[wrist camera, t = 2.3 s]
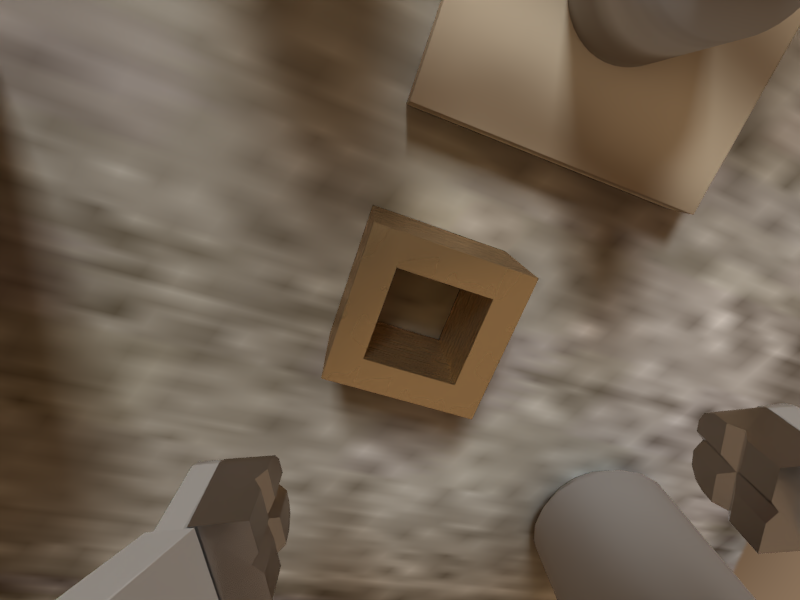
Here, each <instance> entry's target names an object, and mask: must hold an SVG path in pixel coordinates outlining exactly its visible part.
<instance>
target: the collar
mask: <svg viewBox="0 0 800 600" xmlns="http://www.w3.org/2000/svg"><path fill="white" fill-rule="evenodd" d="M396 268H399V269H403V270H406V271H409V272H412V273H415V274H418V275H421V276H424V277H427V278H430V279H433V280H436V281H439V282H442V283H445V284H448V285H451V286H454V287H457V288H460V291H459V293H458V295H457V298H456V300H455V303H454V305H453V307H452V310H451V312H450V314H449V317H448V319H447V322H446V324H445V326H444V329H443V331H442V334H441V336H440V338H439V340H437V339H434V338H431V337H427V336H424V335H421V334H418V333H414V332H411V331H408V330H404V329H401V328H398V327H394V326H391V325H388V324H385V323H381V322H378V321H377V320H378V317H379V314H380V312H381V309H382V306H383V303H384V301H385V298H386V295H387V293H388V290H389V287H390V284H391V282H392V279H393V276H394V273H395V271H396ZM537 281H538V278H537V277H536V276H535V275H533V274H532V273H531V272H530V271H528V270H527V269H526V268H525V267H524V266H522V265H521V264H520V263H519V262H517V261H516V260H515V259H514V258H513V257H511V256H510V255H509V254H508V253H506V252H505V251H503V250H500V249H497V248H494V247H491V246H488V245H486V244H483V243H480V242H477V241H474V240H471V239H468V238H466V237H463V236H460V235H457V234H454V233H451V232H449V231H446V230H443V229H440V228H437V227H434V226H431V225H429V224H426V223H423V222H420V221H417V220H414V219H412V218H409V217H406V216H403V215H400V214H397V213H395V212H392V211H389V210H386V209H383V208H380V207H377V206H375V205H373V206H372V209H371V212H370V215H369V218H368V221H367V224H366V227H365V230H364V233H363V236H362V239H361V242H360V245H359V248H358V251H357V254H356V257H355V260H354V263H353V266H352V269H351V272H350V275H349V278H348V281H347V284H346V287H345V290H344V293H343V296H342V299H341V302H340V305H339V308H338V311H337V314H336V317H335V320H334V323H333V326H332V329H331V332H330V336H329V341H328V346H327V351H326V356H325V362H324V367H323V372H322V377H321V378H322V379H326V380H329V381H333V382H337V383H340V384H344V385H348V386H351V387H355V388H359V389H362V390H366V391H370V392H373V393H377V394H381V395H384V396H388V397H392V398H395V399H399V400H403V401H406V402H410V403H414V404H417V405H421V406H425V407H428V408H432V409H436V410H439V411H443V412H447V413H450V414H454V415H457V416H461V417H465V418H468V419H472V418H473V416H474V414H475V411H476V409H477V407H478V405H479V403H480V401H481V399H482V397H483V395H484V392H485V390H486V388H487V386H488V384H489V382H490V380H491V378H492V376H493V374H494V371H495V369H496V367H497V365H498V363H499V361H500V359H501V357H502V355H503V352H504V350H505V348H506V346H507V344H508V342H509V340H510V338H511V336H512V334H513V331H514V329H515V327H516V325H517V323H518V321H519V319H520V317H521V315H522V313H523V310H524V308H525V306H526V304H527V302H528V300H529V298H530V296H531V294H532V291H533V289H534V287H535V285H536V283H537Z"/></svg>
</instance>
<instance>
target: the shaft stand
mask: <svg viewBox="0 0 800 600" xmlns="http://www.w3.org/2000/svg"><path fill="white" fill-rule="evenodd" d="M799 26H800V0H441V2H440V5H439V8H438V11H437V14H436V17H435V20H434V23H433V26H432V29H431V32H430V35H429V38H428V41H427V44H426V47H425V50H424V53H423V56H422V59H421V62H420V65H419V68H418V71H417V74H416V77H415V80H414V83H413V86H412V89H411V92H410V95H409V98H408V101H407V105H410V106H412V107H415V108H417V109H420V110H422V111H425V112H427V113H430V114H432V115H435V116H437V117H440V118H442V119H445V120H447V121H450V122H452V123H455V124H457V125H460V126H462V127H465V128H467V129H470V130H472V131H475V132H477V133H480V134H482V135H485V136H487V137H490V138H492V139H495V140H497V141H500V142H502V143H505V144H507V145H510V146H512V147H515V148H517V149H520V150H522V151H525V152H527V153H530V154H532V155H535V156H537V157H540V158H542V159H545V160H547V161H550V162H552V163H555V164H557V165H560V166H562V167H565V168H567V169H570V170H572V171H575V172H577V173H580V174H582V175H585V176H587V177H590V178H592V179H595V180H597V181H600V182H602V183H605V184H607V185H610V186H613V187H615V188H618V189H620V190H623V191H625V192H628V193H630V194H633V195H635V196H638V197H640V198H643V199H645V200H648V201H650V202H653V203H655V204H658V205H660V206H663V207H665V208H668V209H671V210H675V211H680V212H684V213H688V214H692V215H693V214H694V213H695V211H696V209H697V207H698V205H699V204H700V202H701V200H702V198H703V197H704V195H705V193H706V191H707V189H708V188H709V186H710V184H711V182H712V181H713V179H714V177H715V175H716V173H717V172H718V170H719V168H720V166H721V165H722V163H723V161H724V159H725V158H726V156H727V154H728V152H729V150H730V149H731V147H732V145H733V143H734V142H735V140H736V138H737V136H738V134H739V133H740V131H741V129H742V127H743V126H744V124H745V122H746V120H747V118H748V117H749V115H750V113H751V111H752V110H753V108H754V106H755V104H756V102H757V101H758V99H759V97H760V95H761V94H762V92H763V90H764V88H765V86H766V85H767V83H768V81H769V79H770V78H771V76H772V74H773V72H774V71H775V69H776V67H777V65H778V63H779V62H780V60H781V58H782V56H783V55H784V53H785V51H786V49H787V47H788V46H789V44H790V42H791V40H792V39H793V37H794V35H795V33H796V31H797V30H798V28H799Z"/></svg>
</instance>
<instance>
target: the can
mask: <svg viewBox="0 0 800 600" xmlns="http://www.w3.org/2000/svg"><path fill="white" fill-rule="evenodd" d="M534 543H535V545H536V548H537V551H538V554H539V556H540V559H541V561H542V564H543V566H544V568H545V571H546V573H547V576H548V578H549V581H550V583H551V585H552V588H553V590H554V593H555V595H556V598H557V600H756V599H755V598H754V597H753V596H752V594H751V593H750V592H749V591H748V590H747V588H746V587H745V586H744V585H743V584H742V582H741V581H740V580H739V579H738V578H737V577H736V575H735V574H734V573H733V572H732V571H731V569H730V568H729V567H728V566H727V565H726V563H725V562H724V561H723V560H722V559H721V558H720V556H719V555H718V554H717V553H716V552H715V550H714V549H713V548H712V547H711V546H710V545H709V543H708V542H707V541H706V540H705V539H704V537H703V536H702V535H701V534H700V533H699V531H698V530H697V529H696V528H695V527H694V526H693V524H692V523H691V522H690V521H689V520H688V518H687V517H686V516H685V515H684V514H683V513H682V511H681V510H680V509H679V508H678V507H677V505H676V504H675V503H674V502H673V501H672V499H671V498H670V497H669V496H668V495H667V494H666V492H665V491H664V490H663V489H662V488H661V486H660V485H659V484H658V483H657V482H655V481H653V480H652V479H650V478H648V477H646V476H645V475H643V474H640V473H635V472H629V471H624V470H615V471H598V472H590V473H587V474H584V475H582V476H579V477H576V478H574V479H572V480H571V481H569V482H568V483H566V484H565V485H563V486H561V487H560V488H559V489H558V490H557V491H556V492H555V494H554V495H553V496H552V497H551V498H550V499H549V501H548V503H547V504H546V505H545V506H544V507H543V509H542V511H541V513H540V515H539V518H538V520H537V522H536V524H535V534H534Z"/></svg>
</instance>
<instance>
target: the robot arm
mask: <svg viewBox="0 0 800 600" xmlns="http://www.w3.org/2000/svg"><path fill="white" fill-rule="evenodd" d="M697 432H698V433H699V435H700V436H701V437H702V439H703V440H702V442H701V443H700V444H699V445H698V446H697V447H696V448H695V449H694V451H693V459H692V467H693V471H694V475H695V479H696V481H697V483H698V485H699V486H700V488H701V490H702V491H703V492H704V494H705V495H706V496H707V497H708V498H709V499H710V501H711V502H713V503H715V504H717V505H719V506H721V507H723V508H725V509H727V510H729V522H730V523H731V524H732V525H733V526H734V527H735V529H736V530H737V531H738V532H739V533H740V534H741V535H742V536H743V537H744V538H745V540H746V541H747V542H748V543H749V544H750V545H751V546H752V547H753V548H754V549H755V551H756V552H757V553H758V554H761V553H775V552H790V551H800V408H798V407H797V406H793V405H790V404H786V403H782V404H774V405H766V406H758V407H756V408H747V409H737V410H728V411H718V412H709V413H704V414H703V415H702V416H701V418H700V419H699V422H698V428H697ZM282 473H283V472H282V468H281V464H280V461H279V458H278V457H276V456H275V455H273V456H260V457H246V458H233V459H224V460H212V461H200V462H197V463H196V464H194V465H192V467H191V468H190V470H189V472H188V473H187V475H186V477H185V478H184V480H183V482H182V483H181V485H180V487H179V489H178V490H177V492H176V494H175V495H174V497H173V499H172V501H171V502H170V504H169V506H168V507H167V509H166V511H165V512H164V514H163V516H162V518H161V519H160V521H159V523H158V524H157V526H156V528H155V530H154V531H153V532H147V533H144V534H142V535H141V536H140V537H138V538H137V539H136V540H134V541H133V542H132V543H130V544H129V545H128V546H126V547H125V548H124V549H122V550H121V551H120V552H118V553H117V554H116V555H114V556H113V557H112V558H110V559H109V560H108V561H106V562H105V563H104V564H102V565H101V566H100V567H98V568H97V569H96V570H94V571H93V572H92V573H90V574H89V575H88V576H86V577H85V578H84V579H82V580H81V581H80V582H78V583H77V584H76V585H74V586H73V587H72V588H70V589H69V590H68V591H66V592H65V593H64V594H62V595H61V596H60V597H58V598H57V599H56V600H273V596H274V592H275V588H276V584H277V580H278V576H279V572H280V567H281V564H280V560H279V556H278V552H279V551H280V550H281V549H282V548H283V547H284V546H285V544H286V542H287V538H288V533H289V525H290V504H289V498H288V493H287V490H286V489H284V488H283V487H282V486H281V485H280V484H279V483H280V480H281V476H282Z"/></svg>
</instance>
